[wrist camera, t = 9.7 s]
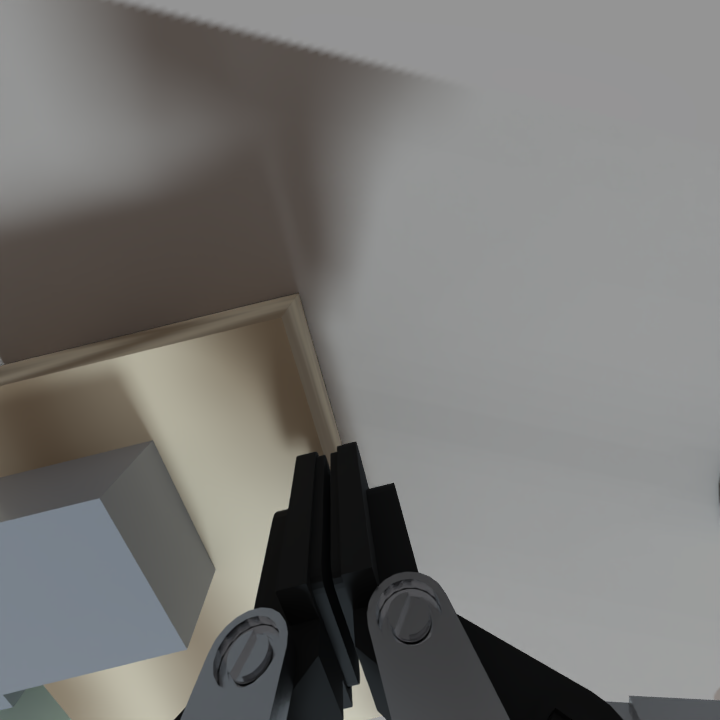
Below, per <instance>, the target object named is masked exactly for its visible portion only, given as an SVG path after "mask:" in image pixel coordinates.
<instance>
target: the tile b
mask: <svg viewBox="0 0 720 720" xmlns="http://www.w3.org/2000/svg"><path fill="white" fill-rule="evenodd" d="M215 570H216V569H215V567H214V565H213V563H212V561H211V559H210V557H209V555H208V552H207V550H206V548H205V546H204V544H203V542H202V540H201V538H200V536H199V534H198V532H197V530H196V528H195V526H194V524H193V522H192V520H191V518H190V515H189V513H188V511H187V509H186V507H185V505H184V503H183V501H182V499H181V497H180V495H179V493H178V491H177V489H176V487H175V485H174V483H173V481H172V479H171V476H170V474H169V472H168V470H167V468H166V466H165V464H164V462H163V460H162V458H161V456H160V454H159V452H158V450H157V448H156V446H155V444H154V442H153V440H152V441H148V442H143V443H139V444H135V445H131V446H127V447H123V448H119V449H115V450H111V451H107V452H103V453H98V454H94V455H90V456H86V457H82V458H78V459H74V460H70V461H66V462H62V463H58V464H53V465H49V466H45V467H41V468H37V469H33V470H29V471H25V472H21V473H17V474H13V475H8V476H4V477H0V693H1V694H2V695H4V694H8V693H12V692H16V691H20V690H24V689H29V688H33V687H37V686H41V685H45V684H49V683H53V682H57V681H61V680H65V679H69V678H73V677H77V676H81V675H85V674H90V673H94V672H98V671H102V670H106V669H110V668H114V667H118V666H122V665H126V664H130V663H134V662H138V661H142V660H147V659H151V658H155V657H159V656H163V655H167V654H171V653H175V652H179V651H183V650H187V649H188V646H189V643H190V640H191V637H192V635H193V632H194V629H195V626H196V623H197V621H198V618H199V615H200V612H201V609H202V607H203V604H204V601H205V598H206V596H207V593H208V590H209V587H210V584H211V582H212V579H213V576H214V573H215Z"/></svg>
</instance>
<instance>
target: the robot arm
mask: <svg viewBox="0 0 720 720" xmlns="http://www.w3.org/2000/svg"><path fill="white" fill-rule="evenodd" d="M359 660H360V663H361V666H362V669H363V672H364V675H365V678H366V680H367V683H368V686H369V688H370V691H371V694H372V697H373V700H374V703H375V706H376V709H377V711H378V712H379V713H380V714H381V715H382V716H383V717H384V718H385V719H387V720H720V701H719V700H701V699H682V698H662V697H643V696H629V703H623V702H605V701H604V700H602V699H601V698H600V697H598V696H597V695H596V694H594V693H593V692H591V691H590V690H588V689H586V688H584V687H583V686H581V685H579V684H577V683H576V682H574V681H572V680H570V679H569V678H567V677H565V676H564V675H562V674H560V673H558V672H557V671H555V670H553V669H551V668H550V667H548V666H546V665H544V664H543V663H541V662H539V661H537V660H536V659H534V658H532V657H530V656H529V655H527V654H525V653H524V652H522V651H520V650H518V649H517V648H515V647H513V646H511V645H510V644H508V643H506V642H504V641H503V640H501V639H499V638H497V637H496V636H494V635H492V634H491V633H489V632H487V631H485V630H484V629H482V628H480V627H478V626H477V625H475V624H473V623H471V622H470V621H468V620H466V619H464V618H463V617H461V616H459V615H458V614H456V612H455V610H454V608H453V606H452V605H451V603H450V601H449V599H448V597H447V595H446V593H445V592H444V590H443V589H442V587H441V586H440V585H439V583H437V582H436V581H435V580H433V579H432V578H431V577H429V576H427V575H424V574H421V573H419V572H418V569H417V566H416V562H415V558H414V555H413V551H412V547H411V544H410V540H409V536H408V532H407V529H406V525H405V521H404V518H403V514H402V510H401V507H400V503H399V499H398V496H397V492H396V488H395V485H394V483H391V484H387V485H383V486H379V487H375V488H371V489H369V487H368V483H367V480H366V476H365V472H364V468H363V465H362V461H361V457H360V453H359V450H358V446H357V443H356V442H352V443H348V444H344V445H340V446H337V452H334V453H331V454H330V467H329V464H328V461H327V458H326V455H321V456H319V455H318V453H317V451H316V452H311V453H307V454H303V455H299V456H297V457H296V462H295V469H294V475H293V481H292V488H291V494H290V500H289V506H288V509H285V510H281V511H277V512H276V513H275V514H274V516H273V520H272V524H271V529H270V534H269V539H268V543H267V548H266V553H265V558H264V563H263V567H262V572H261V577H260V582H259V586H258V591H257V596H256V601H255V606H254V609H253V610H249V611H247V612H245V613H243V614H242V615H240V616H238V617H236V618H235V619H234V620H233V621H232V622H231V623H229V624H228V625H227V626H226V627H225V628H224V629H223V631H222V632H221V633H220V634H219V636H218V637H217V638H216V639H215V641H214V643H213V645H212V647H211V649H210V651H209V652H208V655H207V657H206V659H205V662H204V664H203V667H202V669H201V671H200V674H199V676H198V679H197V681H196V683H195V686H194V688H193V691H192V693H191V695H190V698H189V700H188V703H187V705H186V707H185V708H184V709H183V710H182V711H181V713H180V714H179V715H178V716H177V717H176V718H175V719H174V720H344V711H343V709H346V708H350V707H353V701H352V686H355V685H359V684H360V668H359Z"/></svg>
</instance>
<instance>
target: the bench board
mask: <svg viewBox="0 0 720 720" xmlns="http://www.w3.org/2000/svg"><path fill="white" fill-rule="evenodd" d="M152 440H153V442H154V444H155V446H156V448H157V450H158V452H159V454H160V456H161V458H162V460H163V462H164V464H165V466H166V468H167V470H168V472H169V474H170V476H171V479H172V481H173V483H174V485H175V487H176V489H177V491H178V493H179V495H180V497H181V499H182V501H183V503H184V505H185V507H186V509H187V511H188V513H189V515H190V518H191V520H192V522H193V524H194V526H195V528H196V530H197V532H198V534H199V536H200V538H201V540H202V542H203V544H204V546H205V548H206V550H207V552H208V555H209V557H210V559H211V561H212V563H213V565H214V567H215V569H216V570H215V573H214V576H213V579H212V582H211V584H210V587H209V590H208V593H207V596H206V598H205V601H204V604H203V607H202V609H201V612H200V615H199V618H198V621H197V623H196V626H195V629H194V632H193V635H192V637H191V640H190V643H189V646H188V649H187V650H183V651H179V652H175V653H171V654H167V655H163V656H159V657H155V658H151V659H147V660H142V661H138V662H134V663H130V664H126V665H122V666H118V667H114V668H110V669H106V670H102V671H98V672H94V673H90V674H85V675H81V676H77V677H73V678H69V679H65V680H61V681H57V682H53V683H49V684H45V685H43V686H44V687H45V688H46V689H47V690H48V692H49V693H50V694H51V695H52V697H53V698H54V699H55V700H56V701H57V703H58V704H59V705H60V706H61V708H62V709H63V710H64V711H65V712H66V714H67V715H68V716H69V717H70V719H71V720H174V719H175V718H176V717H177V716H178V715H179V714H180V713H181V711H182V710H183V709H184V708H185V707H186V705H187V703H188V700H189V698H190V695H191V693H192V691H193V688H194V686H195V683H196V681H197V679H198V676H199V674H200V671H201V669H202V667H203V664H204V662H205V659H206V657H207V655H208V652H209V651H210V649H211V647H212V645H213V643H214V641H215V639H216V638H217V637H218V636H219V634H220V633H221V632H222V631H223V629H224V628H225V627H226V626H227V625H228V624H229V623H231V622H232V621H233V620H234V619H235V618H236V617H238V616H240V615H242V614H243V613H245V612H247V611H249V610H253V609H254V606H255V601H256V596H257V591H258V586H259V582H260V577H261V572H262V567H263V563H264V558H265V553H266V548H267V543H268V539H269V534H270V529H271V524H272V520H273V516H274V514H275V513H276V512H277V511H281V510H285V509H288V506H289V500H290V494H291V488H292V481H293V475H294V469H295V462H296V457H297V456H299V455H303V454H307V453H311V452H316V451H317V453H318V455H319V456H321V455H326V458H327V461H328V464H329V467H330V454H331V453H334V452H337V446H340V445H342V443H341V440H340V436H339V433H338V429H337V426H336V422H335V419H334V415H333V412H332V408H331V405H330V401H329V398H328V394H327V391H326V387H325V384H324V380H323V377H322V373H321V370H320V366H319V363H318V359H317V356H316V352H315V349H314V345H313V342H312V338H311V335H310V331H309V328H308V324H307V321H306V317H305V314H304V310H303V307H302V303H301V300H300V296H299V293H297V294H293V295H288V296H284V297H280V298H276V299H272V300H268V301H264V302H260V303H256V304H252V305H247V306H243V307H239V308H235V309H231V310H227V311H223V312H219V313H215V314H211V315H206V316H202V317H198V318H194V319H190V320H186V321H182V322H178V323H174V324H169V325H165V326H161V327H157V328H153V329H149V330H145V331H141V332H137V333H133V334H128V335H124V336H120V337H116V338H112V339H108V340H104V341H100V342H96V343H92V344H87V345H83V346H79V347H75V348H71V349H67V350H63V351H59V352H55V353H51V354H46V355H42V356H38V357H34V358H30V359H26V360H22V361H18V362H14V363H10V364H5V365H2V366H0V477H4V476H8V475H13V474H17V473H21V472H25V471H29V470H33V469H37V468H41V467H45V466H49V465H53V464H58V463H62V462H66V461H70V460H74V459H78V458H82V457H86V456H90V455H94V454H98V453H103V452H107V451H111V450H115V449H119V448H123V447H127V446H131V445H135V444H139V443H143V442H148V441H152ZM359 668H360V684H359V685H355V686H352V701H353V707H350V708H346V709H343V711H344V720H368V719H372V718H376V717H380V716H382V715H381V714H380V713H379V712H378V711H377V709H376V706H375V703H374V700H373V697H372V694H371V691H370V688H369V686H368V683H367V680H366V678H365V675H364V672H363V669H362V666H361V663H360V660H359Z"/></svg>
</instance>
